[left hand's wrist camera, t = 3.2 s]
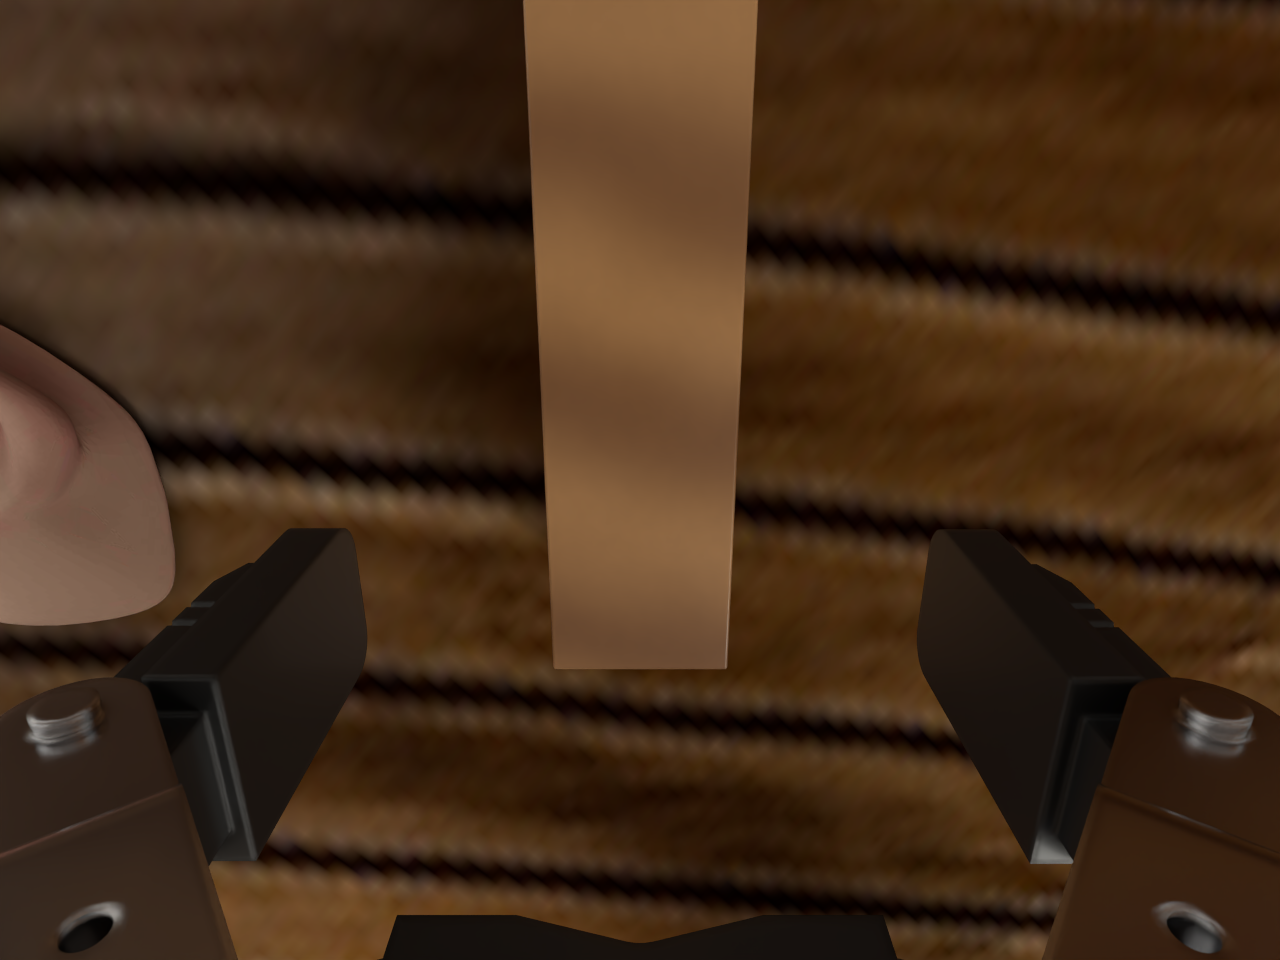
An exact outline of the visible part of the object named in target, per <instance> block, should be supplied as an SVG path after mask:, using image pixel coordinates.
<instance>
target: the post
mask: <svg viewBox="0 0 1280 960" xmlns="http://www.w3.org/2000/svg"><path fill="white" fill-rule="evenodd" d="M757 12H758V0H523V14H524V35H525V57H526V79H527V101H528V123H529V145H530V167H531V189H532V211H533V233H534V254H535V276H536V298H537V320H538V342H539V364H540V386H541V408H542V430H543V451H544V473H545V495H546V517H547V539H548V561H549V583H550V605H551V627H552V649H553V667H554V669H726V668H727V664H728V642H729V620H730V598H731V577H732V555H733V533H734V512H735V490H736V468H737V446H738V425H739V403H740V381H741V360H742V338H743V316H744V294H745V273H746V251H747V229H748V208H749V186H750V164H751V142H752V121H753V99H754V77H755V56H756V34H757Z"/></svg>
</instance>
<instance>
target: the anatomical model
mask: <svg viewBox="0 0 1280 960" xmlns="http://www.w3.org/2000/svg"><path fill="white" fill-rule="evenodd" d="M174 578H175V548H174V542H173V536H172V529H171V523H170V517H169V510H168V504H167V499H166V495H165V491H164V488H163V484H162V481H161V478H160V475H159V472H158V469H157V466H156V463H155V460H154V457H153V454H152V451H151V448H150V446H149V444H148V442H147V440H146V438H145V436H144V434H143V432H142V430H141V429H140V427H139V426H138V424H137V423H136V422H135V420H134V419H133V418H132V417H131V415H130V414H129V413H128V412H127V411H126V410H125V409H124V408H123V407H122V406H120V405H119V404H118V403H117V402H116V401H115V400H114V399H112V398H111V397H110V396H109V395H108V394H106V393H105V392H104V391H103V390H101V389H100V388H99V387H97V386H96V385H95V384H93V383H92V382H91V381H89V380H88V379H87V378H85V377H84V376H82V375H81V374H80V373H78V372H77V371H75V370H74V369H72V368H71V367H69V366H68V365H66V364H65V363H63V362H62V361H60V360H59V359H57V358H56V357H54V356H53V355H51V354H50V353H48V352H47V351H45V350H44V349H42V348H40V347H39V346H37V345H35V344H34V343H32V342H30V341H29V340H27V339H25V338H24V337H22V336H20V335H19V334H17V333H15V332H13V331H11V330H9V329H8V328H6V327H4V326H2V325H0V622H1V623H7V624H19V625H32V626H40V625H68V624H79V623H88V622H95V621H102V620H108V619H114V618H119V617H123V616H127V615H131V614H135V613H138V612H141V611H144V610H147V609H149V608H151V607H153V606H155V605H157V604H158V603H160V602H161V601H162V600H163V599H164V598H166V596H167V595H168V594H169V592H170V590H171V589H172V586H173V583H174Z"/></svg>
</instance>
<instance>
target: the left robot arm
mask: <svg viewBox="0 0 1280 960" xmlns="http://www.w3.org/2000/svg"><path fill="white" fill-rule="evenodd" d="M172 622H173V623H172V626H167V627H166V628H165V629H164V630H162V631H161V632H160V633H159V634H158V635H157V636H156V637H155V638H154V639H153V640H152V641H151V642H150V643H149V644H148V645H147V646H146V647H145V648H144V649H143V650H142V651H141V652H140V653H138V654H137V655H136V656H135V657H134V658H133V659H132V660H131V661H130V662H129V663H128V664H127V665H126V666H125V667H124V668H123V669H122V670H121V671H120V672H119V673H118V674H117V675H115V676H114V677H110V678H96V679H89V680H84V681H78V682H74V683H71V684H67V685H63V686H60V687H57V688H54V689H51V690H48V691H46V692H43V693H41V694H39V695H36V696H34V697H32V698H30V699H28V700H26V701H24V702H22V703H20V704H18V705H17V706H15V707H13V708H12V709H10V710H8V711H7V712H6V713H4V714H3V715H1V716H0V960H238V958H237V955H236V952H235V949H234V946H233V942H232V939H231V936H230V933H229V930H228V927H227V924H226V920H225V917H224V914H223V911H222V908H221V905H220V901H219V898H218V895H217V892H216V889H215V886H214V882H213V879H212V876H211V873H210V870H209V867H208V866H209V865H210V863H211V862H212V861H256V860H257V858H258V856H259V855H260V853H261V851H262V849H263V847H264V846H265V844H266V842H267V840H268V838H269V837H270V835H271V833H272V831H273V830H274V828H275V826H276V824H277V822H278V821H279V819H280V817H281V815H282V813H283V812H284V810H285V808H286V806H287V804H288V803H289V801H290V799H291V797H292V795H293V794H294V792H295V790H296V788H297V787H298V785H299V783H300V781H301V779H302V778H303V776H304V774H305V772H306V770H307V769H308V767H309V765H310V763H311V761H312V760H313V758H314V756H315V754H316V753H317V751H318V749H319V747H320V745H321V744H322V742H323V740H324V738H325V736H326V735H327V733H328V731H329V729H330V727H331V726H332V724H333V722H334V720H335V719H336V717H337V715H338V713H339V711H340V710H341V708H342V706H343V704H344V702H345V701H346V699H347V697H348V695H349V693H350V692H351V690H352V688H353V686H354V685H355V683H356V681H357V679H358V677H359V675H360V673H361V671H362V668H363V665H364V662H365V657H366V650H367V627H366V619H365V612H364V605H363V598H362V591H361V584H360V577H359V570H358V563H357V556H356V549H355V544H354V540H353V537H352V535H351V533H350V532H349V531H348V530H347V529H345V528H291V529H288V530H287V531H286V532H284V533H283V534H282V535H281V537H280V538H279V539H278V540H277V541H276V542H275V543H274V544H273V545H272V546H271V547H270V548H269V549H268V550H267V551H266V552H265V553H264V554H263V555H262V556H261V557H260V558H259V559H258V560H257V561H256V562H255V563H248V564H246V565H244V566H242V567H240V568H238V569H236V570H234V571H232V572H231V573H229V574H227V575H225V576H223V577H221V578H219V579H217V580H216V581H214V582H213V583H212V584H211V585H210V586H208V587H207V588H206V589H205V590H204V591H203V592H202V593H201V594H200V595H199V596H198V597H197V598H196V599H195V600H194V601H193V602H192V603H191V607H187V608H185V609H184V610H183V611H182V612H181V613H180V614H179V615H178V616H177V617H176V618H175V619H174V620H173V621H172ZM1113 624H1114V623H1113V622H1112V621H1111V620H1110V619H1109V618H1108V617H1107V616H1106V615H1105V614H1104V613H1103V612H1102V611H1101V610H1100V609H1095V608H1094V604H1093V603H1092V602H1091V601H1090V600H1089V599H1088V598H1087V597H1086V596H1085V595H1084V594H1083V593H1082V592H1081V591H1080V590H1079V589H1078V588H1077V587H1075V586H1074V585H1073V584H1072V583H1071V582H1069V581H1067V580H1065V579H1063V578H1062V577H1060V576H1058V575H1056V574H1054V573H1052V572H1050V571H1048V570H1046V569H1045V568H1043V567H1041V566H1039V565H1037V564H1030V563H1029V562H1028V561H1027V560H1026V559H1025V558H1024V557H1023V556H1022V555H1021V554H1020V553H1019V552H1018V551H1017V550H1016V549H1015V548H1014V547H1013V546H1012V545H1011V544H1010V543H1009V542H1008V541H1007V540H1006V539H1005V538H1004V537H1003V536H1002V535H1001V534H1000V533H999V532H998V531H996V530H938V531H936V532H935V533H934V535H933V537H932V539H931V543H930V547H929V552H928V559H927V566H926V573H925V580H924V587H923V594H922V601H921V608H920V615H919V622H918V630H917V649H918V657H919V662H920V666H921V669H922V672H923V674H924V676H925V678H926V680H927V682H928V684H929V685H930V687H931V689H932V691H933V692H934V694H935V696H936V698H937V700H938V701H939V703H940V705H941V707H942V708H943V710H944V712H945V714H946V715H947V717H948V719H949V721H950V723H951V724H952V726H953V728H954V730H955V731H956V733H957V735H958V737H959V738H960V740H961V742H962V744H963V746H964V747H965V749H966V751H967V753H968V754H969V756H970V758H971V760H972V761H973V763H974V765H975V767H976V768H977V770H978V772H979V774H980V776H981V777H982V779H983V781H984V783H985V784H986V786H987V788H988V790H989V791H990V793H991V795H992V797H993V799H994V800H995V802H996V804H997V806H998V807H999V809H1000V811H1001V813H1002V814H1003V816H1004V818H1005V820H1006V822H1007V823H1008V825H1009V827H1010V829H1011V830H1012V832H1013V834H1014V836H1015V837H1016V839H1017V841H1018V843H1019V845H1020V846H1021V848H1022V850H1023V852H1024V853H1025V855H1026V857H1027V859H1028V860H1029V862H1030V864H1072V867H1071V870H1070V873H1069V876H1068V879H1067V882H1066V886H1065V889H1064V892H1063V895H1062V898H1061V901H1060V905H1059V908H1058V911H1057V914H1056V917H1055V920H1054V924H1053V927H1052V930H1051V933H1050V936H1049V939H1048V942H1047V946H1046V949H1045V952H1044V955H1043V958H1042V960H1280V716H1279V715H1277V714H1276V713H1274V712H1273V711H1272V710H1270V709H1268V708H1267V707H1265V706H1263V705H1262V704H1260V703H1258V702H1256V701H1254V700H1252V699H1250V698H1248V697H1246V696H1244V695H1241V694H1239V693H1237V692H1234V691H1232V690H1229V689H1226V688H1223V687H1220V686H1217V685H1213V684H1209V683H1206V682H1202V681H1196V680H1191V679H1184V678H1171V677H1170V676H1169V675H1168V674H1167V673H1166V672H1165V671H1164V670H1163V669H1162V668H1161V667H1160V666H1159V665H1158V664H1157V663H1156V662H1155V661H1153V660H1152V659H1151V658H1150V657H1149V656H1148V655H1147V654H1146V653H1145V652H1144V651H1143V650H1142V649H1141V648H1140V647H1139V646H1138V645H1137V644H1136V643H1134V642H1133V641H1132V640H1131V639H1130V638H1129V637H1128V636H1127V635H1126V634H1125V633H1124V632H1123V631H1122V630H1121V629H1120V628H1119V627H1114V625H1113ZM379 960H902V959H898V958H897V957H896V954H895V951H894V948H893V945H892V941H891V938H890V935H889V932H888V929H887V926H886V923H885V920H884V917H883V915H762V916H758V917H754V918H750V919H746V920H741V921H737V922H733V923H729V924H725V925H721V926H717V927H712V928H708V929H704V930H700V931H696V932H692V933H688V934H683V935H679V936H675V937H671V938H667V939H663V940H659V941H654V942H649V943H631V942H626V941H621V940H617V939H613V938H609V937H605V936H601V935H597V934H592V933H588V932H584V931H580V930H576V929H572V928H568V927H563V926H559V925H555V924H551V923H547V922H543V921H539V920H534V919H530V918H526V917H522V916H518V915H397V917H396V920H395V923H394V926H393V929H392V932H391V935H390V938H389V941H388V945H387V948H386V951H385V954H384V957H383V958H382V959H379Z"/></svg>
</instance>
